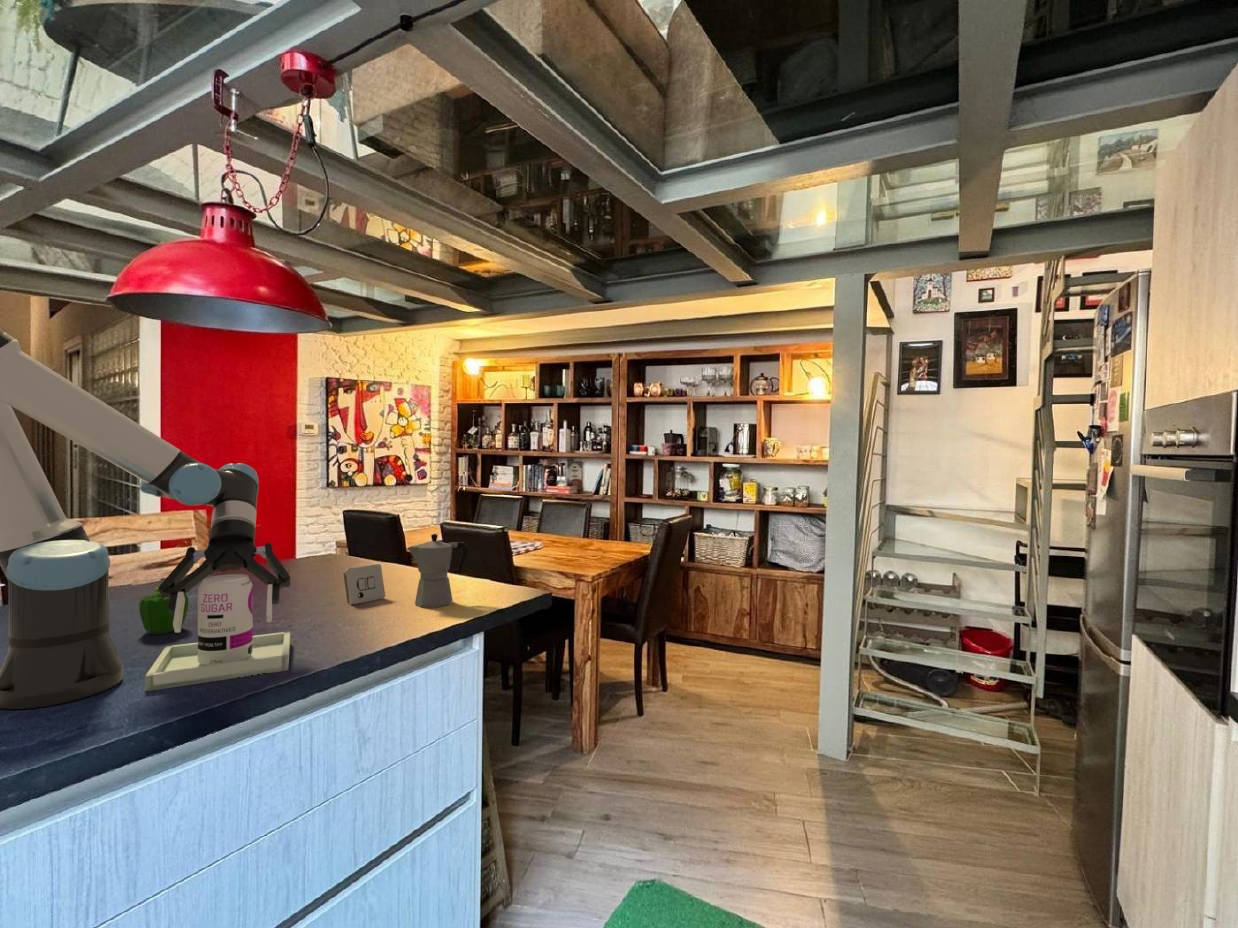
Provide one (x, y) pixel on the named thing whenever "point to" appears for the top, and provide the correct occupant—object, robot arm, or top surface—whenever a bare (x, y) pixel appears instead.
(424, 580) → the coffeepot
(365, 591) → the electrical switch
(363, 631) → the top surface
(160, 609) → the bell pepper
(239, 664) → the tray
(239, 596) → the supplement can
